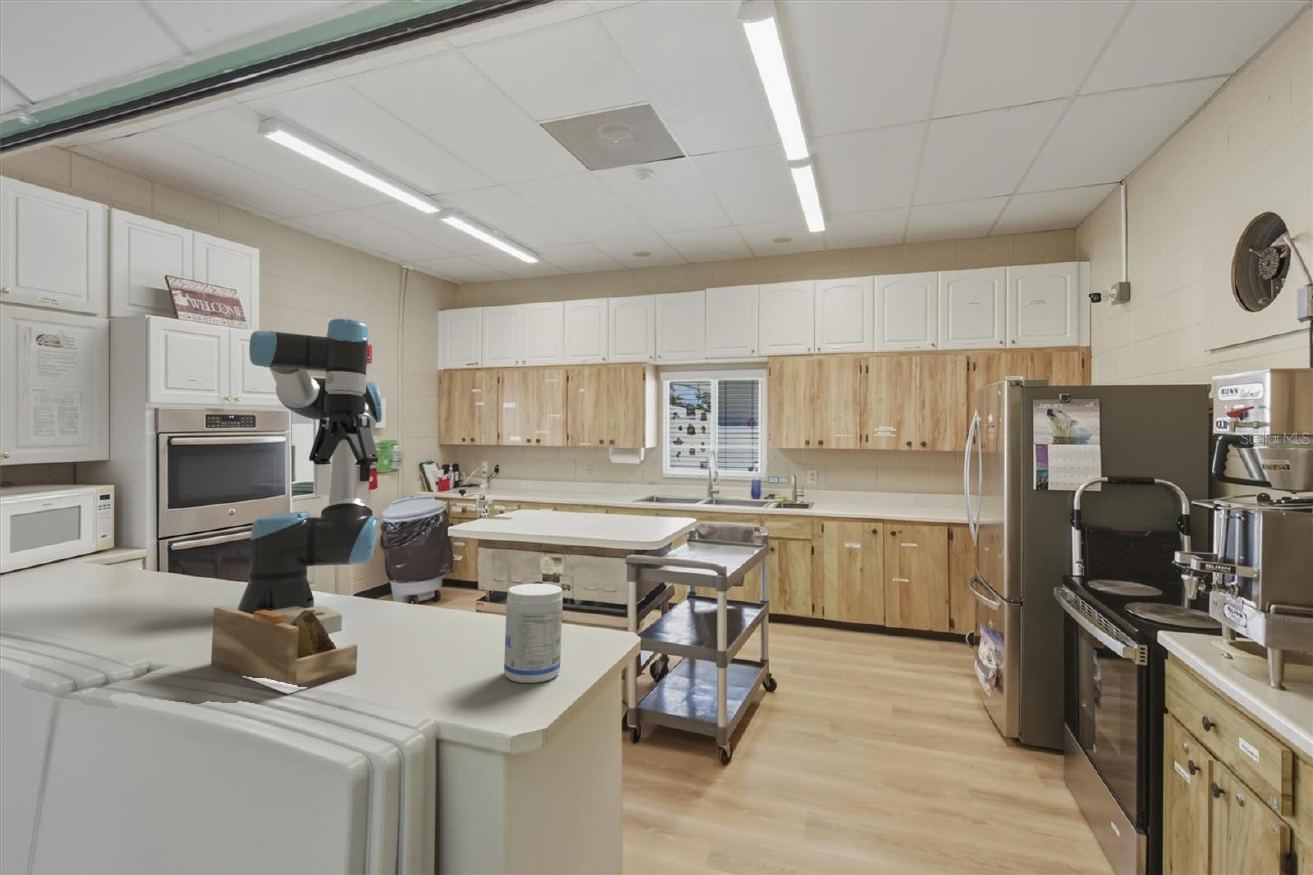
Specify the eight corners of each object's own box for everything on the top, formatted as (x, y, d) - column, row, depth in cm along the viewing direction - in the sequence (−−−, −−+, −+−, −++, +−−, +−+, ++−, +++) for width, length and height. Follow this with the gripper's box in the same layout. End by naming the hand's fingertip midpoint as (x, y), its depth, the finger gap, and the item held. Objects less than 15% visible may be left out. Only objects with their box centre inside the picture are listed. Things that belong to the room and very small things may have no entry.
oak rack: (278, 648, 113) (281, 589, 113) (356, 673, 100) (359, 606, 101) (209, 665, 103) (213, 600, 103) (286, 695, 90) (289, 621, 91)
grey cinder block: (296, 601, 135) (342, 612, 126) (295, 619, 135) (342, 632, 125) (262, 608, 129) (308, 620, 120) (261, 626, 128) (308, 640, 119)
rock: (245, 655, 97) (274, 659, 92) (278, 607, 102) (308, 607, 97) (300, 681, 104) (331, 685, 98) (329, 634, 109) (359, 636, 104)
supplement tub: (499, 669, 104) (502, 584, 104) (552, 662, 108) (555, 581, 108) (509, 688, 95) (512, 596, 96) (566, 681, 99) (569, 592, 99)
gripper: (293, 395, 126) (289, 494, 125) (365, 389, 113) (360, 500, 112) (328, 398, 132) (324, 493, 131) (399, 393, 120) (395, 498, 119)
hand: (340, 496), depth 122 cm, fingers open, 13 cm apart
